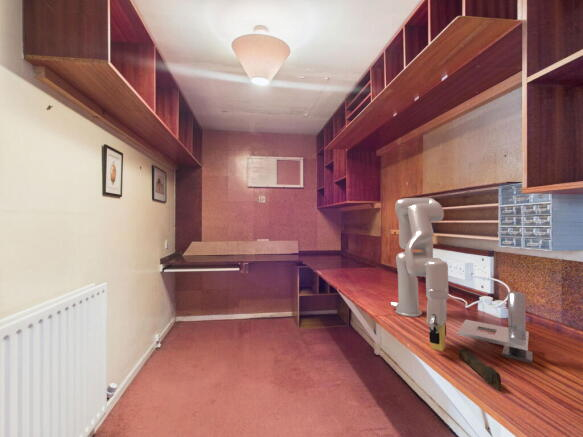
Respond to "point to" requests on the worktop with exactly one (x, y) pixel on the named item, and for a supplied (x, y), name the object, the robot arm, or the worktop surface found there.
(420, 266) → the robot arm
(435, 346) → the yellow block
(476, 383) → the worktop surface
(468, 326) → the gray plate with post
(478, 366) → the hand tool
